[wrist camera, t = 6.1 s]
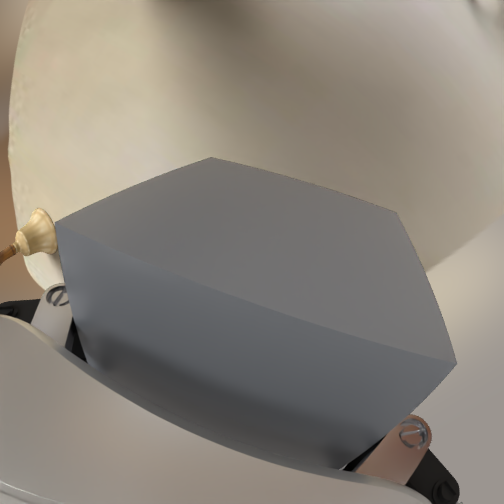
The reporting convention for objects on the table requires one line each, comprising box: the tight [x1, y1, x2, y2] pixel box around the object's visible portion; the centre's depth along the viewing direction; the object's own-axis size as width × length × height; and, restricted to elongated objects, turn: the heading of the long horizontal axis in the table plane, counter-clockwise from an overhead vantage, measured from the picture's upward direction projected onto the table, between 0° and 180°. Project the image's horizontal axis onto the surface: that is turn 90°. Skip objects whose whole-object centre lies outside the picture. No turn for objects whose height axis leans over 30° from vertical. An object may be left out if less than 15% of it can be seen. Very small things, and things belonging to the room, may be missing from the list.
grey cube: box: [55, 157, 457, 470], centre depth 9 cm, size 8×8×8 cm
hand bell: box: [0, 208, 58, 265], centre depth 32 cm, size 8×8×16 cm
